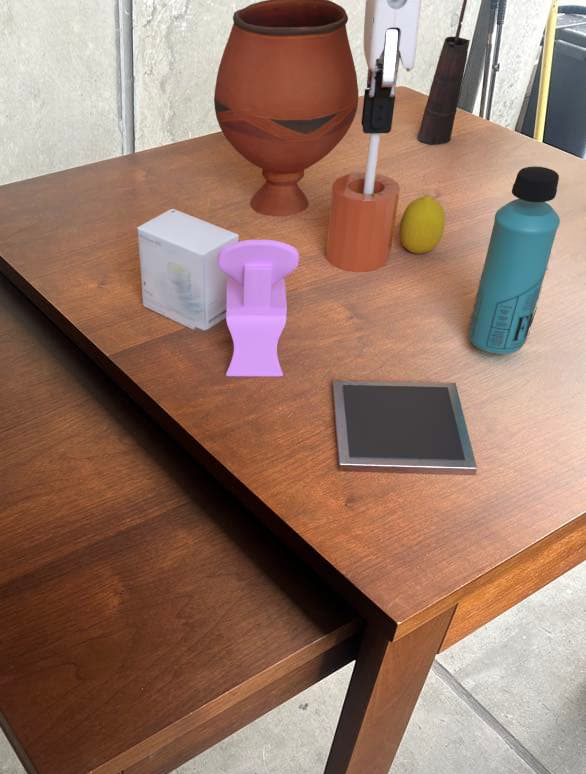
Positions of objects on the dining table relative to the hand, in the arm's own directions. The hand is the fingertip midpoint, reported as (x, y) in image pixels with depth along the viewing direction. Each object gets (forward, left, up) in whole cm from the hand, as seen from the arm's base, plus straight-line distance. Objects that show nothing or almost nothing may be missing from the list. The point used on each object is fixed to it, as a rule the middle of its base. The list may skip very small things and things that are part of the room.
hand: (375, 128), depth 101 cm
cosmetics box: (+21, +13, -17) cm, 30 cm away
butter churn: (-15, -41, -17) cm, 47 cm away
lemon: (-8, -2, -17) cm, 19 cm away
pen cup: (0, 0, -17) cm, 17 cm away
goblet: (+10, -16, -17) cm, 26 cm away
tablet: (-2, +35, -17) cm, 39 cm away
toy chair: (+13, +22, -17) cm, 31 cm away
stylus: (0, 0, -10) cm, 10 cm away
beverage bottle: (-14, +20, -17) cm, 30 cm away
